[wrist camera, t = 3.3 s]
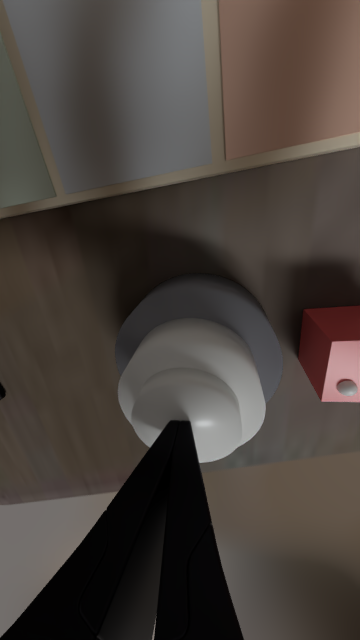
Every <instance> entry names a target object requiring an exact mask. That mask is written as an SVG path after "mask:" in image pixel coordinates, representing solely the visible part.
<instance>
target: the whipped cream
mask: <svg viewBox="0 0 360 640" xmlns="http://www.w3.org/2000/svg"><path fill="white" fill-rule="evenodd" d="M118 399H119V403H120V406H121V409H122V411H123V413H124V415H125V416H126V418H127V419H128V421H129V422H130V423H131V424H132V425H133V428H134V430H135V432H136V433H137V435H138V436H139V438H140V439H141V440H142V441H143V442H144V443H145V444H146V445H147V446H149V447H151V446H152V444H153V443H154V442H155V440H156V439H157V437H158V436H159V435H160V433H161V432H162V430H163V429H164V428H165V426H166V425H167V423H168V422H169V421H170V420H179V421H182V420H185V421H190V422H191V426H192V430H193V435H194V440H195V445H196V449H197V454H198V459H199V463H202V462H211V461H215V460H218V459H221V458H223V457H225V456H227V455H229V454H230V453H232V452H233V451H234V450H235V449H236V448H237V447H239V446H241V445H243V444H244V443H246V442H247V441H249V440H250V439H251V438H252V437H253V436H254V435H255V434H256V433H257V432H258V431H259V429H260V427H261V425H262V424H263V421H264V418H265V411H266V407H265V399H264V395H263V391H262V387H261V383H260V379H259V375H258V371H257V367H256V363H255V359H254V356H253V354H252V352H251V350H250V348H249V347H248V345H247V344H246V343H245V341H244V340H243V339H242V338H241V337H240V336H239V335H237V334H236V333H235V332H234V331H232V330H231V329H229V328H227V327H225V326H223V325H221V324H219V323H216V322H213V321H210V320H206V319H199V318H181V319H175V320H171V321H168V322H165V323H163V324H161V325H159V326H157V327H155V328H154V329H153V330H151V331H150V332H149V333H148V334H147V335H146V336H145V337H144V339H143V340H142V342H141V343H140V345H139V347H138V348H137V350H136V352H135V353H134V355H133V357H132V358H131V360H130V362H129V363H128V365H127V367H126V368H125V370H124V372H123V373H122V376H121V378H120V381H119V385H118Z"/></svg>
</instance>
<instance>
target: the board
mask: <svg viewBox="0 0 360 640" xmlns="http://www.w3.org/2000/svg"><path fill="white" fill-rule="evenodd" d="M356 147H360V0H0V219H2V218H7V217H12V216H17V215H22V214H27V213H32V212H37V211H42V210H47V209H52V208H57V207H62V206H67V205H72V204H77V203H82V202H87V201H92V200H97V199H102V198H107V197H112V196H117V195H122V194H127V193H132V192H137V191H142V190H147V189H152V188H157V187H162V186H167V185H172V184H177V183H182V182H187V181H192V180H197V179H202V178H207V177H212V176H217V175H222V174H227V173H232V172H237V171H242V170H247V169H252V168H257V167H262V166H267V165H272V164H277V163H282V162H287V161H292V160H297V159H302V158H307V157H312V156H317V155H322V154H327V153H332V152H336V151H341V150H346V149H351V148H356Z"/></svg>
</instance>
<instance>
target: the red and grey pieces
mask: <svg viewBox="0 0 360 640" xmlns="http://www.w3.org/2000/svg"><path fill="white" fill-rule="evenodd" d="M181 318H199V319H206V320H210V321H213V322H216V323H219V324H221V325H223V326H225V327H227V328H229V329H231V330H232V331H234V332H235V333H236V334H237V335H239V336H240V337H241V338H242V339H243V340H244V341H245V343H246V344H247V345H248V347H249V348H250V350H251V352H252V354H253V356H254V359H255V363H256V367H257V371H258V375H259V379H260V383H261V387H262V391H263V395H264V399H265V404H266V403H267V402H268V401H269V399H270V398H271V397H272V395H273V394H274V393H275V391H276V389H277V387H278V385H279V382H280V379H281V376H282V370H283V357H282V352H281V347H280V345H279V342H278V339H277V337H276V335H275V333H274V331H273V329H272V326H271V324H270V322H269V320H268V318H267V316H266V314H265V312H264V310H263V308H262V306H261V305H260V303H259V302H258V301H257V300H256V298H255V297H254V296H253V295H252V294H251V293H250V292H249V291H248V290H246V289H245V288H243V287H242V286H241V285H239V284H237V283H235V282H233V281H231V280H229V279H227V278H224V277H221V276H217V275H212V274H203V273H193V274H185V275H180V276H177V277H173V278H171V279H168V280H166V281H164V282H162V283H161V284H159V285H158V286H156V287H155V288H154V289H153V290H151V291H150V292H149V293H148V294H147V295H146V297H145V298H144V299H143V300H142V301H141V302H140V303H139V305H138V306H137V307H136V308H135V309H134V310H133V311H132V313H131V314H130V315H129V316H128V317H127V319H126V320H125V321H124V323H123V325H122V327H121V328H120V331H119V333H118V336H117V340H116V346H115V356H116V363H117V367H118V371H119V373H120V375H121V376H122V373H123V372H124V370H125V368H126V367H127V365H128V363H129V362H130V360H131V358H132V357H133V355H134V353H135V352H136V350H137V348H138V347H139V345H140V343H141V342H142V340H143V339H144V337H145V336H146V335H147V334H148V333H149V332H150V331H151V330H153V329H154V328H155V327H157V326H159V325H161V324H163V323H165V322H168V321H171V320H175V319H181ZM298 360H299V362H300V363H301V365H302V367H303V369H304V371H305V373H306V374H307V376H308V378H309V380H310V382H311V384H312V385H313V387H314V389H315V391H316V393H317V394H318V396H319V398H320V400H321V402H360V305H359V306H344V307H329V308H314V309H303V318H302V327H301V337H300V346H299V356H298Z"/></svg>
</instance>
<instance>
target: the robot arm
mask: <svg viewBox="0 0 360 640" xmlns="http://www.w3.org/2000/svg"><path fill="white" fill-rule="evenodd" d="M5 396H6V394H5V393H4V391H3V389H2V388H1V386H0V400H1V399H3V398H4V397H5ZM156 613H157V615H156ZM155 619H156V626H155V636H154V640H244V638H243V635H242V632H241V628H240V625H239V622H238V619H237V615H236V612H235V609H234V606H233V603H232V599H231V596H230V593H229V589H228V586H227V583H226V579H225V575H224V572H223V568H222V565H221V560H220V556H219V552H218V548H217V543H216V539H215V534H214V529H213V525H212V521H211V516H210V511H209V507H208V502H207V497H206V492H205V487H204V483H203V478H202V473H201V468H200V464H199V459H198V454H197V449H196V445H195V440H194V435H193V430H192V426H191V422H190V421H185V420H182V421H179V420H170V421H169V422H168V423H167V425H166V426H165V428H164V429H163V430H162V432H161V433H160V435H159V436H158V437H157V439H156V440H155V442H154V443H153V444H152V446H151V447H150V449H149V450H148V451H147V453H146V454H145V455H144V457H143V458H142V460H141V461H140V462H139V464H138V465H137V467H136V468H135V469H134V471H133V472H132V474H131V475H130V476H129V478H128V479H127V481H126V482H125V483H124V485H123V486H122V488H121V489H120V490H119V492H118V493H117V494H116V496H115V497H114V499H113V500H112V502H111V503H110V504H109V506H108V507H107V511H106V510H105V511H104V512H103V514H102V515H101V517H100V518H99V519H98V521H97V522H96V524H95V525H94V526H93V528H92V529H91V530H90V532H89V533H88V534H87V536H86V537H85V538H84V540H83V541H82V542H81V544H80V545H79V546H78V547H77V548H76V550H75V551H74V552H73V553H72V555H71V556H70V557H69V558H68V560H67V561H66V562H65V563H64V564H63V566H62V567H61V568H60V569H59V570H58V572H57V573H56V574H55V575H54V576H53V578H52V579H51V580H50V581H49V582H48V583H47V585H46V586H45V587H44V588H43V589H42V591H41V592H40V593H39V594H38V595H37V597H36V598H35V599H34V600H33V601H32V603H31V604H30V605H29V606H28V607H27V609H26V610H25V611H24V612H23V613H22V614H21V616H20V617H19V618H18V619H17V620H16V621H15V623H14V624H13V625H12V626H11V627H10V628H9V629H8V630H7V631H6V632H5V633H4V634H3V636H1V638H0V640H152V635H153V630H154V624H155Z"/></svg>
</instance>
